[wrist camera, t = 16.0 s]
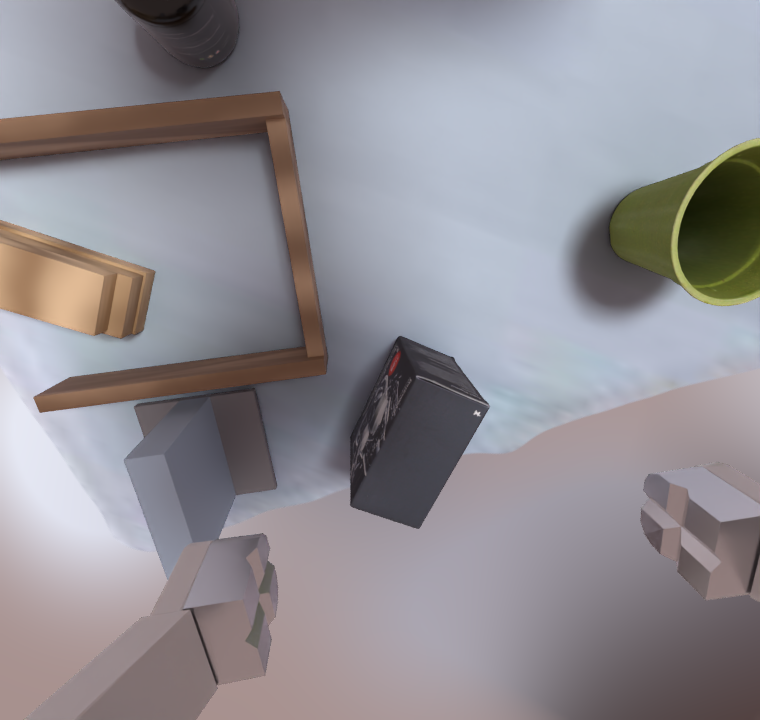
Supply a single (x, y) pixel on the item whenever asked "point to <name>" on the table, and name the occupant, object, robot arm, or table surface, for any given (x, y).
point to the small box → (412, 433)
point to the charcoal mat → (229, 435)
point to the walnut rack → (173, 126)
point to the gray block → (182, 479)
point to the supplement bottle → (189, 27)
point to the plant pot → (699, 228)
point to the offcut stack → (71, 284)
